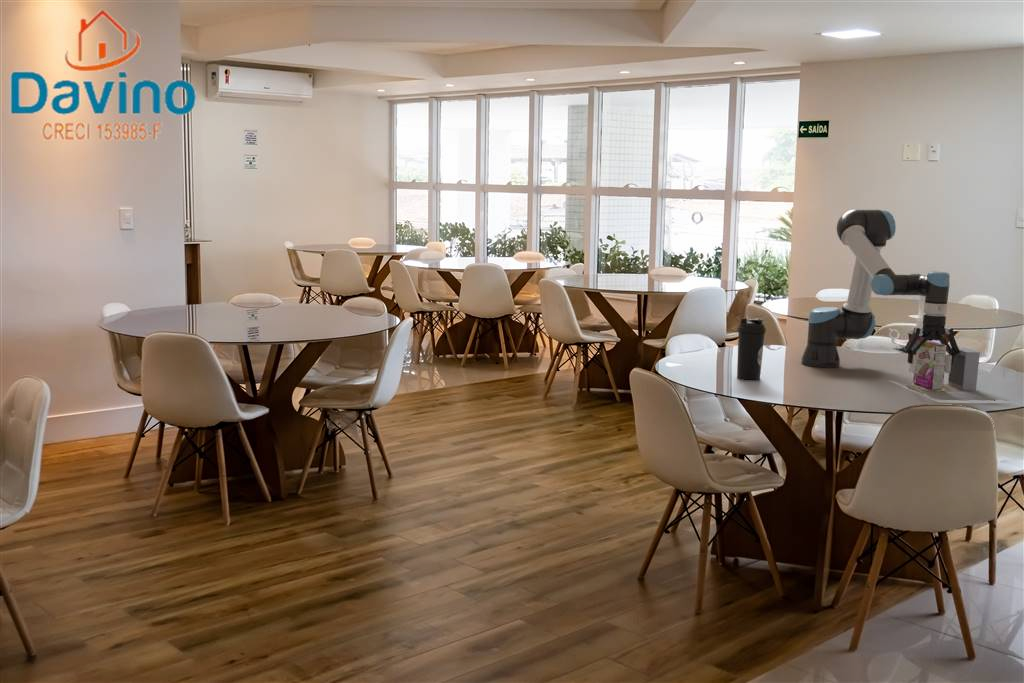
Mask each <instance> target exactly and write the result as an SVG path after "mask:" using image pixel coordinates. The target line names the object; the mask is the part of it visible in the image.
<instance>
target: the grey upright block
mask: <svg viewBox="0 0 1024 683" xmlns="http://www.w3.org/2000/svg"><path fill="white" fill-rule="evenodd" d="M958 348H959V351H960V353H959V354H956V355H955V356H954V360H953V364H951V370H950V373H948V378H947V379H948V383H947V384H948V385H950V386H953V387H955V388H958V389H960V390H977V382H978V375H979V374H978V373H979V363H980V354H981V353H980V352H979V351H977V350H973V349H969V348H967V347H958Z"/></svg>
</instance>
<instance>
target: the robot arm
mask: <svg viewBox="0 0 1024 683" xmlns="http://www.w3.org/2000/svg"><path fill="white" fill-rule="evenodd" d="M896 226H897V225H896V221H895V218H894V216H893V214H892V213H891V212H890V211H889V210H881V209H851V210H850V209H849V210H848V211H846V212H844V213H843V214H842V215H841V216H840V217H839V219H838V221H837V224H836V234H837V237H838V238H839V240H840V241H841V243H842V244H843V245H844V246H846V247H848V248H849V249H850V251H851V252H852V254H854V257H855V261H854V266H853V271H852V276H851V281H850V285H849V291H848V296H847V300H846V301H845V302H844V303H843V304H842V306H841V310H840V308H838V307H834V306H824V307H816V308H814V309H812V310H811V311H810V312H809V316H808V321H807V322H808V327H807V328H808V329H807V343H806V344H807V345H806V347H805V349H804V351H803V354H802V357H801V361H800V362H801V364H802V365H805V366H810V367H816V368H817V367H818V368H838V367H840V365H841V364H840V363H841V360H840V355H839V351H838V340H860V339H866V338H868V337H870V336H871V335H872V334H873V332H874V329H875V327H876V317H875V316H876V315H875V314H874V312H872V311H873V309H872V308H871V306H870V301H871V297H872V294H873V293H874V294H875V295H878V296H919V295H921V296H925V306H924V313H926V314H925V315H924V316H923V328H922V329H921V328H917V327H915V326H914V327H915V328H913V330H912V331H913V334H912V336H911V337H910V339H909V338H908V340H909V341H908V343H907V344H906V346H905V348H903V350H902V352H904V353H906V354H907V363H908V365H909V366H908V372H909V373H912V374H914V372H915V361H916V355H914V354H915V352H916V351H917V350H918V349H919V348H920V347H921V346H922V345H923V344H924V343H925V342H926V341H927V340H931V341H939V343H940V344H943V345H947V350H946V360H945V371H944V373H946V374H949V373H950V370H951V364H953V360H954V356H955V355H956V354H959V353H960V351H959V348H960V347H959V346H958V343H957V341H956V338H955V335H954V329H953V328H952V327H946V323H947V322H946V321H947V317H946V315H947V309H948V299H949V292H950V291H949V290H950V277H951V276H950V273H948V272H945V271H935V270H934V271H933V270H932V271H928V272H927V275H924V274H921V273H911V274H896V273H895V272H894V271H893V269H892V268H891V267H890V265H889V264H888V263H887V261H886V260H885V259H884V258H883V257H882V255H881V250H882V249H883V248H885V247H886V245H887V241H889V240H892V238H894V236H895V233H896V229H897V228H896ZM872 292H873V293H872ZM945 327H946V328H945ZM921 332H922V333H923V335H922V336H921V337H920V339H919V340H918V341H917V342H916V340H917V338H918V336H919V334H921ZM944 334H946V336H947V339H948V342H949V343H948V342H947V340H946V338H945V337H944ZM915 342H916V343H915ZM914 343H915V344H914Z"/></svg>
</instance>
